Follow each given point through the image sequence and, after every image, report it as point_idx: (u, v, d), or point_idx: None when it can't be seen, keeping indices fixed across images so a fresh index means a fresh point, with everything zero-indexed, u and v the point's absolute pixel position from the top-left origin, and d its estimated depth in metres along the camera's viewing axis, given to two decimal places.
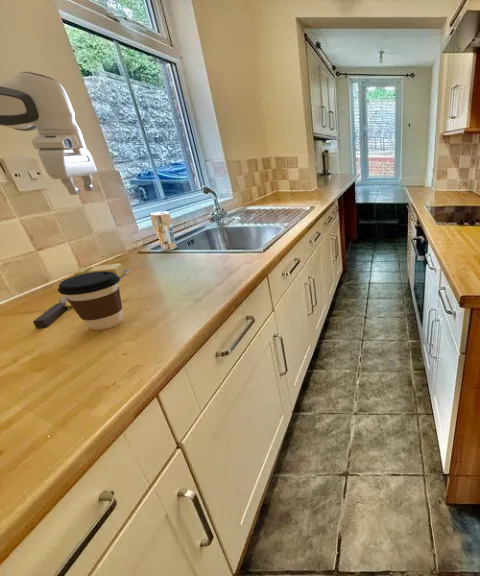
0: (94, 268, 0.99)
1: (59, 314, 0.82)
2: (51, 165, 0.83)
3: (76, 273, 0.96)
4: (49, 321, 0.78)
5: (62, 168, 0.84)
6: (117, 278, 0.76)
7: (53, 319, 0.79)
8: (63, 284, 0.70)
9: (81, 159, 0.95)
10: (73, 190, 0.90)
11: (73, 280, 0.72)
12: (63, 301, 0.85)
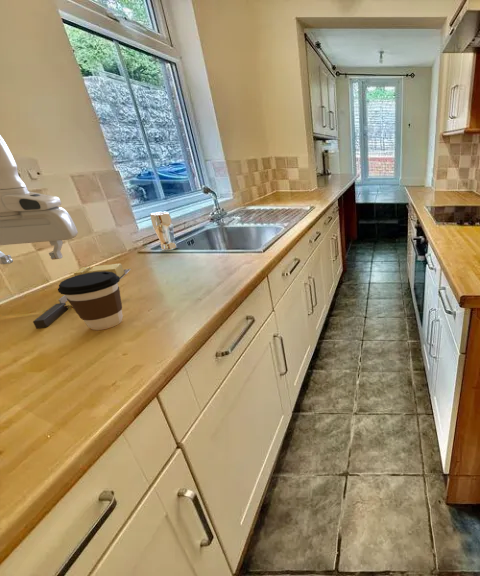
0: (94, 268, 0.99)
1: (59, 314, 0.82)
2: (69, 224, 0.76)
3: (76, 273, 0.96)
4: (49, 321, 0.78)
5: None
6: (117, 278, 0.76)
7: (53, 319, 0.79)
8: (63, 284, 0.70)
9: None
10: (59, 252, 0.78)
11: (73, 280, 0.72)
12: (63, 301, 0.85)
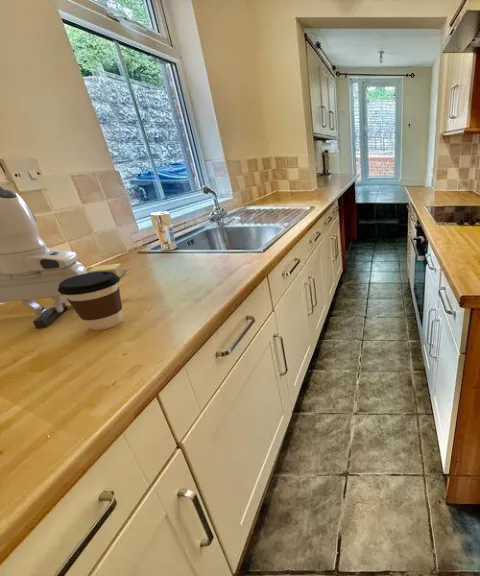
0: (94, 268, 0.99)
1: (59, 314, 0.82)
2: None
3: None
4: (49, 321, 0.78)
5: None
6: (117, 278, 0.76)
7: (53, 319, 0.79)
8: (63, 284, 0.70)
9: None
10: (61, 305, 0.81)
11: (73, 280, 0.72)
12: (63, 301, 0.85)
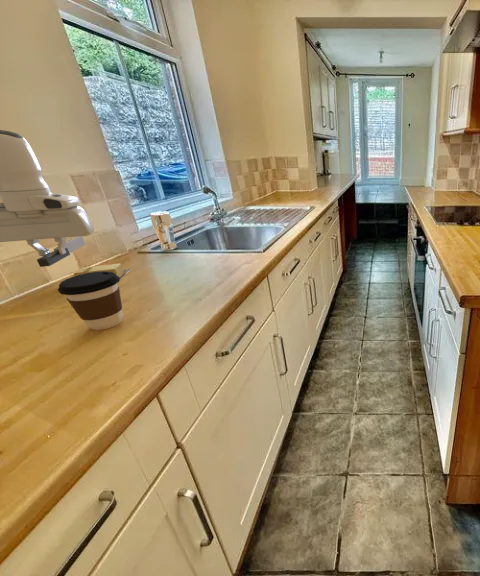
0: (94, 268, 0.99)
1: (61, 257, 0.86)
2: (86, 222, 0.84)
3: (76, 273, 0.96)
4: (52, 261, 0.82)
5: (91, 223, 0.86)
6: (117, 278, 0.76)
7: (56, 260, 0.84)
8: (63, 284, 0.70)
9: None
10: (63, 248, 0.85)
11: (73, 280, 0.72)
12: (65, 247, 0.89)
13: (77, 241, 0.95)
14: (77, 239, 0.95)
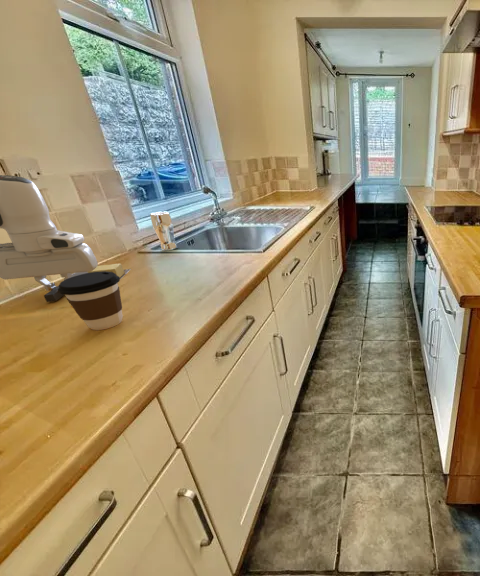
0: None
1: None
2: (91, 258, 0.88)
3: None
4: (58, 296, 0.86)
5: (95, 258, 0.90)
6: (117, 278, 0.76)
7: (62, 294, 0.88)
8: (63, 284, 0.70)
9: None
10: None
11: (73, 280, 0.72)
12: None
13: (81, 272, 0.99)
14: None
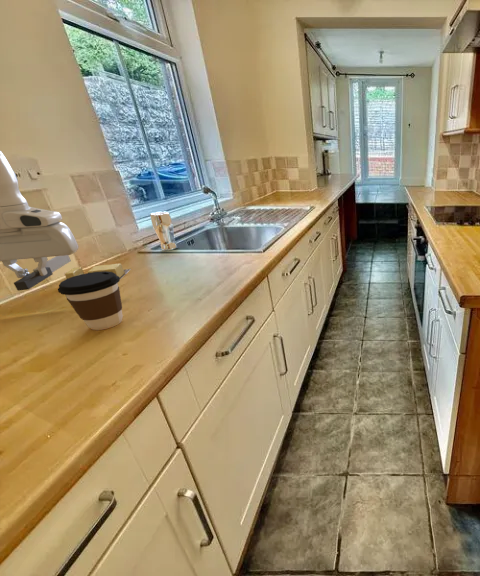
0: (94, 268, 0.99)
1: (43, 278, 0.78)
2: (70, 239, 0.76)
3: (67, 274, 0.96)
4: (31, 283, 0.74)
5: None
6: (117, 278, 0.76)
7: (36, 282, 0.75)
8: (63, 284, 0.70)
9: None
10: (44, 269, 0.77)
11: (73, 280, 0.72)
12: (48, 266, 0.81)
13: (61, 259, 0.87)
14: (61, 256, 0.87)
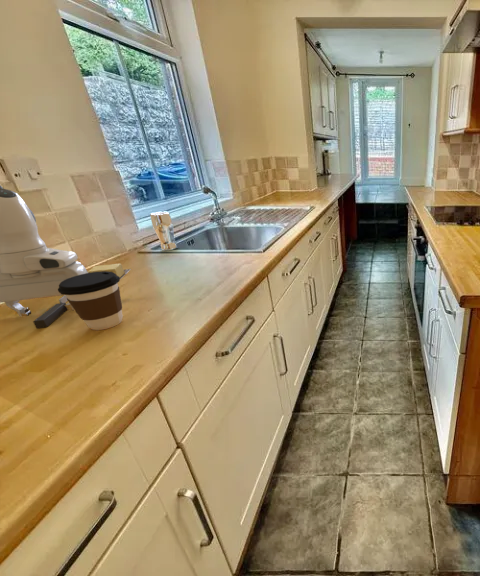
0: (94, 268, 0.99)
1: (59, 314, 0.82)
2: None
3: None
4: (49, 321, 0.78)
5: None
6: (117, 278, 0.76)
7: (53, 319, 0.79)
8: (63, 284, 0.70)
9: None
10: None
11: (73, 280, 0.72)
12: (63, 301, 0.85)
13: None
14: None
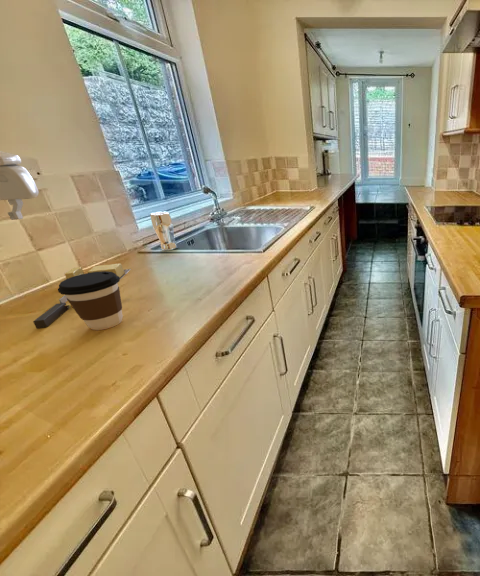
0: (94, 268, 0.99)
1: (59, 314, 0.82)
2: (28, 183, 0.74)
3: (67, 274, 0.96)
4: (49, 321, 0.78)
5: None
6: (117, 278, 0.76)
7: (53, 319, 0.79)
8: (63, 284, 0.70)
9: None
10: (19, 213, 0.76)
11: (73, 280, 0.72)
12: (63, 301, 0.85)
13: None
14: None
